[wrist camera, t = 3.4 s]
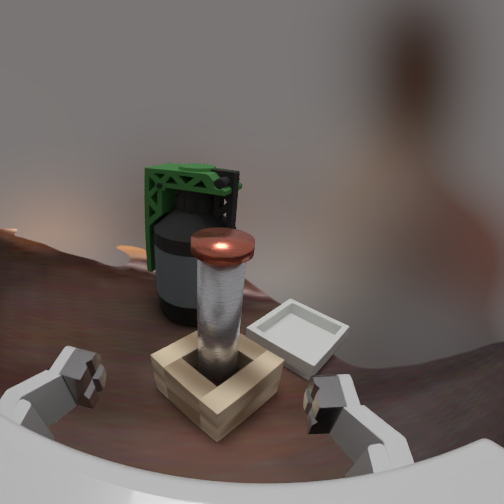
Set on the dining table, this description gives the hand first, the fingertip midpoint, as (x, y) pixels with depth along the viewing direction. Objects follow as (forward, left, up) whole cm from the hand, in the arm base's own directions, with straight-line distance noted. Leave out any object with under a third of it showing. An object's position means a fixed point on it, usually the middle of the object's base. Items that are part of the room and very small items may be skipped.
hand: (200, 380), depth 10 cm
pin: (+9, +8, -16) cm, 20 cm away
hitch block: (+9, +8, -16) cm, 20 cm away
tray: (+22, +7, -16) cm, 28 cm away
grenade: (+17, +23, -16) cm, 33 cm away
